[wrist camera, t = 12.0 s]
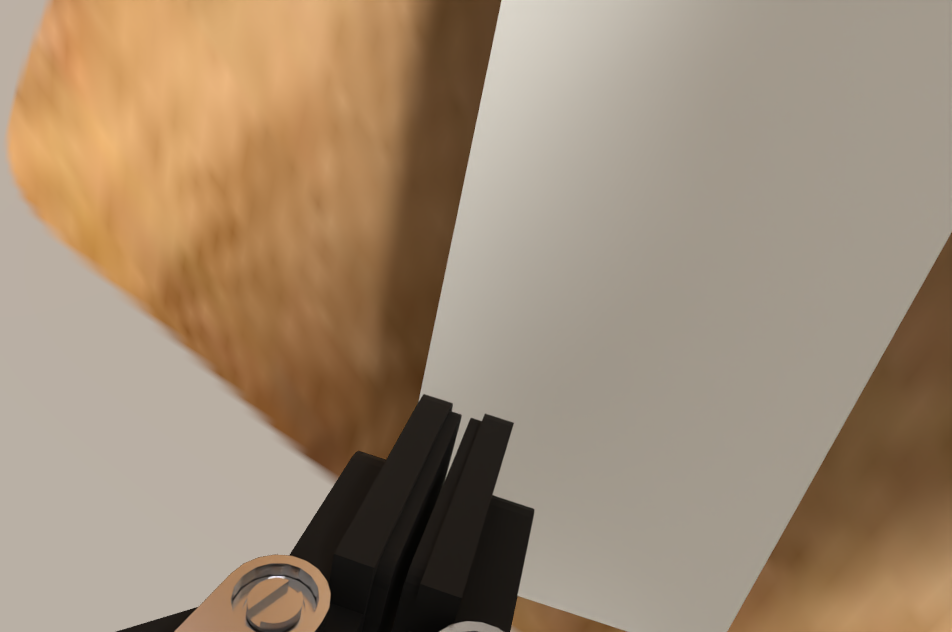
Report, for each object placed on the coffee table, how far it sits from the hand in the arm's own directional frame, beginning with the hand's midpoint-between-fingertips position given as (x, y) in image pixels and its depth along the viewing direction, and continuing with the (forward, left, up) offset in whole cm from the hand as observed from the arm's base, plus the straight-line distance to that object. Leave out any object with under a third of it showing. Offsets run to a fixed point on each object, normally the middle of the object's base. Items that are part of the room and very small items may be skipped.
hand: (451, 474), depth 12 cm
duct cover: (-3, +3, -4) cm, 6 cm away
